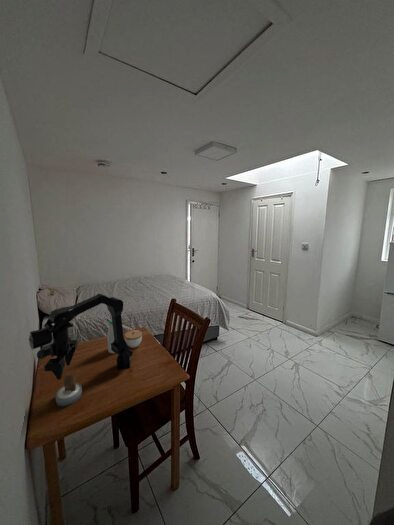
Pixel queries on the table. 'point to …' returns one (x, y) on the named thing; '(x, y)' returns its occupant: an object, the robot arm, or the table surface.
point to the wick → (70, 382)
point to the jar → (68, 395)
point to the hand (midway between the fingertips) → (63, 371)
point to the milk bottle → (110, 336)
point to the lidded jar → (133, 338)
